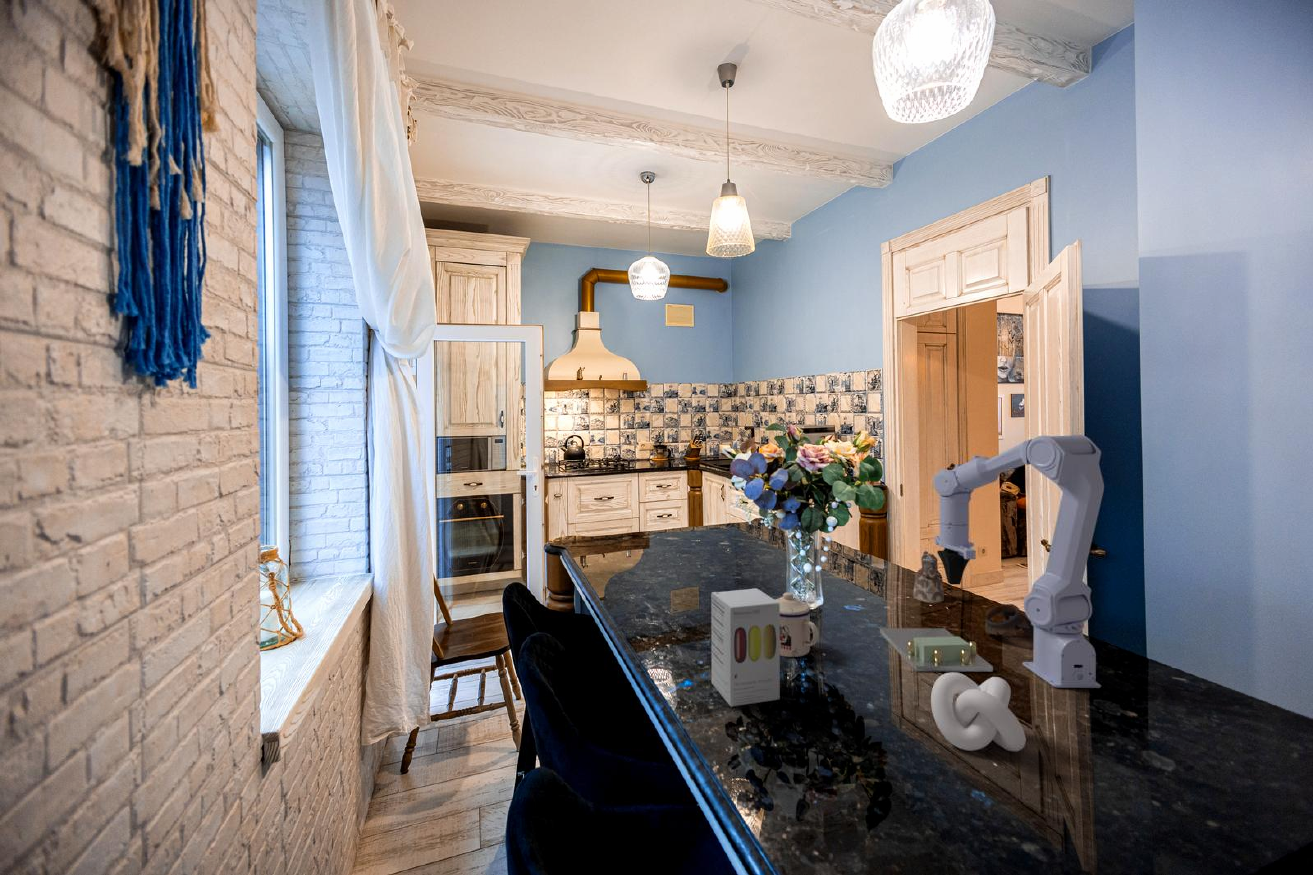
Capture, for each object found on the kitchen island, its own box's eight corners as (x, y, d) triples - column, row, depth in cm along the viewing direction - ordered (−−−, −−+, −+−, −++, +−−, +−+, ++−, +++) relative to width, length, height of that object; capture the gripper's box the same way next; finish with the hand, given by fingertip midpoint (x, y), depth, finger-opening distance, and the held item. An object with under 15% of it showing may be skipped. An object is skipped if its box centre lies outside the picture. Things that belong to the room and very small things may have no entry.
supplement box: (730, 708, 92) (728, 607, 92) (710, 683, 101) (708, 591, 100) (782, 699, 95) (781, 601, 94) (758, 676, 103) (757, 586, 103)
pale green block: (970, 660, 107) (970, 644, 106) (924, 661, 106) (924, 645, 106) (958, 651, 111) (958, 636, 110) (913, 652, 110) (913, 637, 110)
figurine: (915, 601, 144) (915, 555, 144) (911, 593, 151) (911, 549, 150) (946, 603, 142) (946, 557, 141) (940, 595, 149) (940, 550, 148)
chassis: (992, 671, 104) (992, 653, 104) (916, 671, 104) (916, 653, 104) (944, 632, 123) (944, 617, 123) (880, 632, 123) (880, 617, 123)
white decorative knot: (943, 710, 90) (943, 656, 90) (1031, 735, 83) (1032, 676, 83) (925, 742, 82) (925, 682, 81) (1022, 773, 74) (1022, 707, 74)
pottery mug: (1048, 654, 112) (1027, 619, 112) (999, 664, 117) (979, 631, 117) (1040, 620, 123) (1020, 588, 122) (995, 631, 128) (976, 600, 127)
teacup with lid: (757, 647, 116) (756, 592, 116) (786, 637, 122) (786, 584, 121) (802, 667, 107) (801, 607, 106) (832, 655, 112) (831, 598, 112)
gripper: (990, 529, 116) (990, 593, 117) (956, 517, 131) (956, 574, 131) (956, 529, 117) (956, 593, 117) (925, 517, 131) (925, 574, 132)
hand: (953, 583), depth 124 cm, fingers closed
